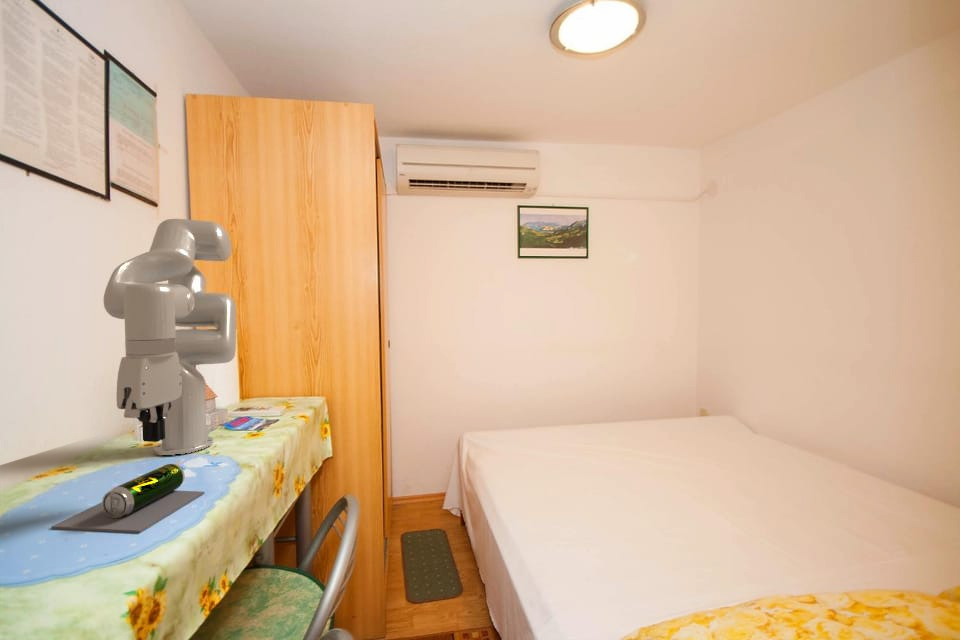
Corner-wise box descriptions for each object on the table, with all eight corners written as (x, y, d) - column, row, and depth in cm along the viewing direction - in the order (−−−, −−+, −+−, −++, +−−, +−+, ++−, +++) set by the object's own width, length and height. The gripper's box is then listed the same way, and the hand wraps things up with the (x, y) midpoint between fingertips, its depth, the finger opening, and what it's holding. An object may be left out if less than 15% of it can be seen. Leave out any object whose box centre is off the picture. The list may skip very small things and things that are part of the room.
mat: (130, 490, 81) (130, 488, 81) (204, 493, 79) (204, 491, 79) (51, 528, 67) (51, 526, 67) (139, 533, 66) (139, 530, 66)
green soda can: (184, 490, 81) (127, 522, 69) (160, 485, 81) (99, 516, 69) (187, 465, 80) (130, 492, 69) (163, 460, 81) (102, 486, 69)
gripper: (166, 342, 84) (168, 426, 85) (93, 352, 69) (96, 454, 70) (199, 343, 84) (201, 428, 85) (133, 354, 69) (136, 456, 70)
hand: (154, 439), depth 78 cm, fingers closed
